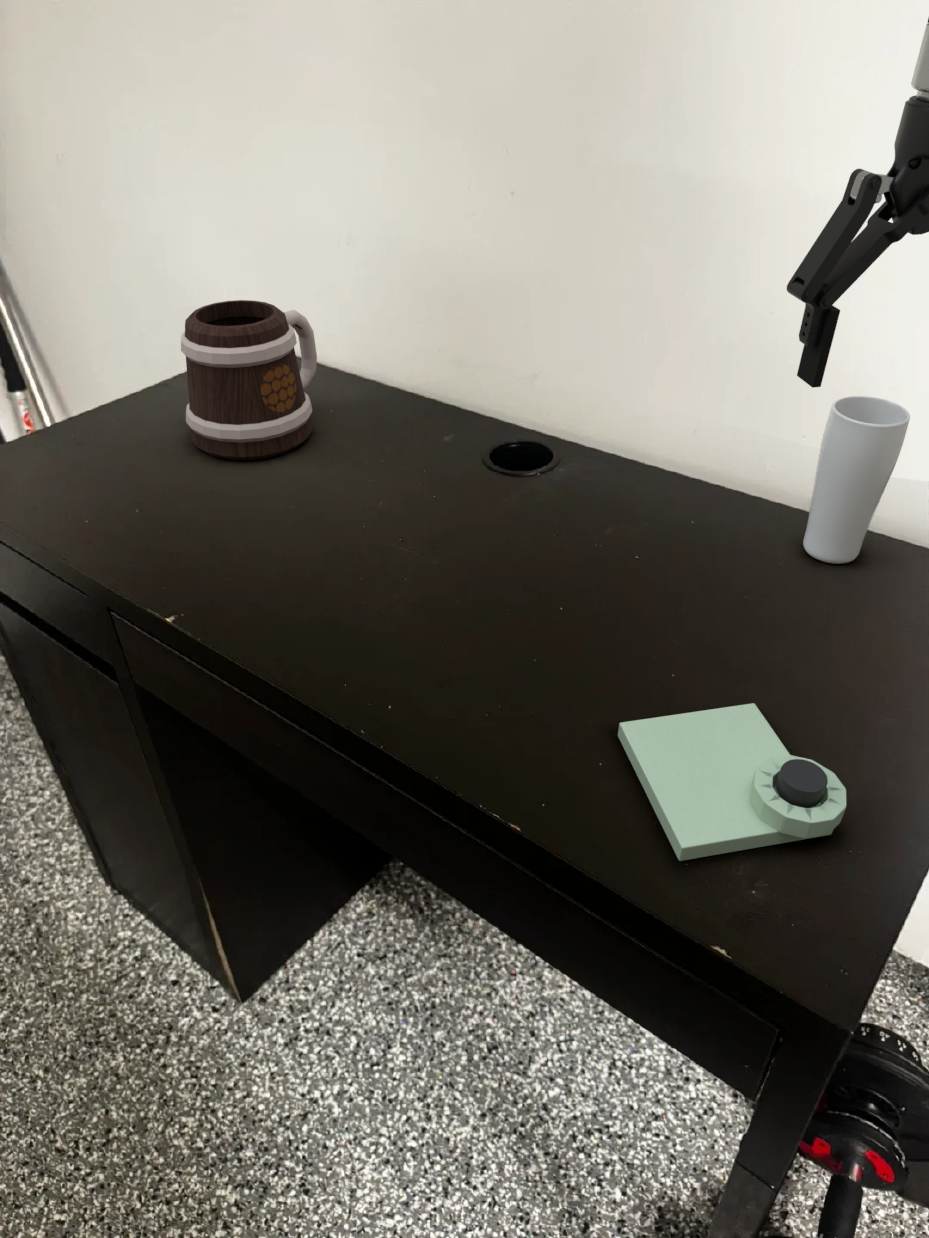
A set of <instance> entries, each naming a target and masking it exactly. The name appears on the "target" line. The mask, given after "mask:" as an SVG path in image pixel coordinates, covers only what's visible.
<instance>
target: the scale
mask: <svg viewBox="0 0 929 1238" xmlns="http://www.w3.org/2000/svg"><path fill="white" fill-rule="evenodd" d="M617 738H618V739H619V741H620V743H621V745H622V747H623V749H624V752H625V754H626V756H627V758H628V761H630V764H631V765H632V768H633V770H634V771H635V774H636V776H637V778H638V780H639V782H640V785H641V786H642V788H643V790H644V792H645V794H646V797H647V798H648V801H649V803H650V805H651V808H652V809H653V811H654V813H655V815H656V818H657V819H658V821H659V823H660V825H661V827H662V829H663V831H664V833H665V835H666V837H667V839H668V841H669V844H670V845H671V847H672V849H673V851H674V854H675V856H676V858H677V860H678V861H679V862H683V861H689V860H694V859H699V858H705V857H706V858H707V857H712V856H716V855H717V856H718V855H723V854H728V853H735V852H739V851H740V852H741V851H746V850H752V849H757V848H763V847H769V846H773V845H774V846H775V845H780V844H786V843H792V842H797V841H802V840H809V839H814V838H820V837H826V836H831V835H832V834H833V832H834V829H836V828H837V826H839V825H840V824H841V822H842V820H843V817H844V814H845V812H846V810H847V788H846V787H845V785H844V784H843V783H842V782H841V780H840V778H838V776H837V775H836V773H834V772H833V771H832V770H830V769H828V768H827V767H825V766H823V765H822V764H820V763H818V762H817V761H815V760H813V759H809V758H807V757H800V756H797V755H792V754H791V753H790V752H789V751H788V750H787V748H786V746H785V745H784V744H783V743H782V741H781V739H780V738H779V736H778V735H777V734H776V732H775V731H774V729H773V728H772V726H771V725H770V723H769V722H768V720H767V719H766V717H765V716H764V714H762V712H761V711H760V709H759V708H758V706H757V704H756V703H755V702H754V703H753V702H751V703H745V704H738V705H732V706H725V707H724V706H723V707H719V708H711V709H705V710H697V711H691V712H683V713H677V714H671V715H663V716H657V717H650V718H649V717H648V718H643V719H635V720H628V721H623V722H619V724H618V730H617ZM793 759H802V760H807V761H810V762H812V763H814V764H816V765H818V766H819V767H820V768H821V769H822V770H823V771H824V772H825V774H826V776H827V779H828V783H827V786H826V789H825V792H824V795H823V798H822V800H821V802H820V803H819V804H818V805H816V806H814V807H810V808H803V807H798V806H794V805H791V804H789V803H788V802H786V801H785V800H783V799H782V798H781V797H780V795H779V794H778V792H777V789H776V782H777V779H778V776H779V773H780V769H781V767H782V765H783V764H784V763H785V762H787V761H789V760H793Z"/></svg>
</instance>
